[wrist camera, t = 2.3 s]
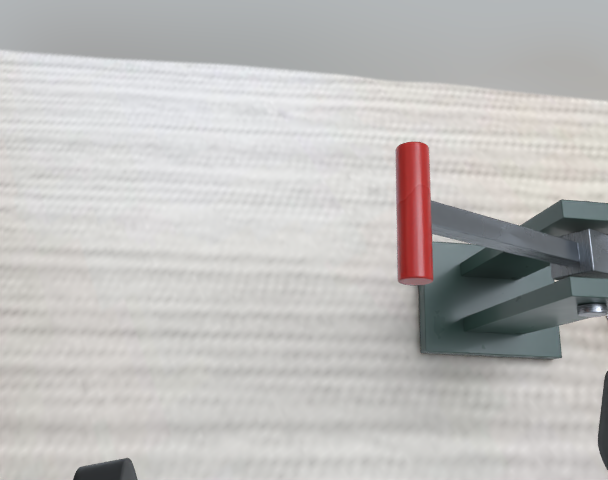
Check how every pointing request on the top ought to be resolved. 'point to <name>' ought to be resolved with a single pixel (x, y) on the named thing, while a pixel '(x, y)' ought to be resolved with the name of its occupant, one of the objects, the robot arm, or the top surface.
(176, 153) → the top surface
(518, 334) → the bracket
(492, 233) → the lever
